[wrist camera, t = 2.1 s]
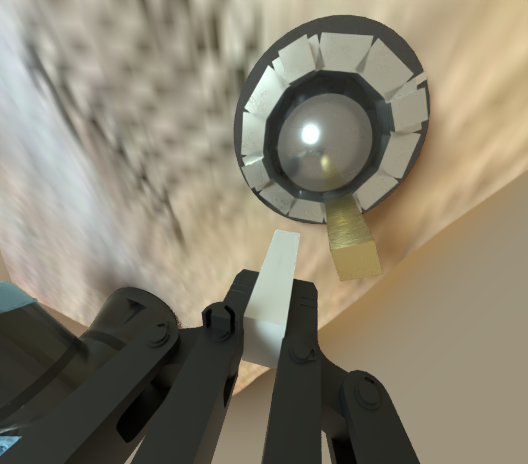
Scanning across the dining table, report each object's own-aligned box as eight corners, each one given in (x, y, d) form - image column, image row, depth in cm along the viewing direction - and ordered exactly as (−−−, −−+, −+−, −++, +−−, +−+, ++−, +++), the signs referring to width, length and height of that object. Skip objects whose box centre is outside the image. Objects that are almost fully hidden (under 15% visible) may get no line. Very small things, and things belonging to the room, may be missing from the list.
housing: (275, 232, 29) (264, 263, 23) (211, 90, 22) (172, 79, 16) (429, 188, 22) (472, 214, 16) (404, -32, 16) (460, -127, 10)
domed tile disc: (281, 225, 25) (259, 295, 15) (227, 99, 20) (141, 80, 10) (414, 185, 20) (512, 251, 10) (388, 3, 15) (537, -227, 5)
